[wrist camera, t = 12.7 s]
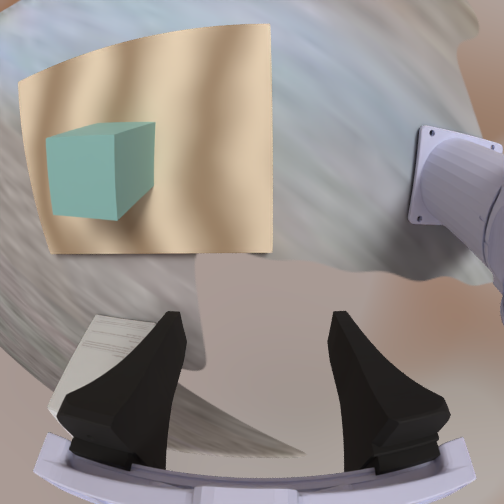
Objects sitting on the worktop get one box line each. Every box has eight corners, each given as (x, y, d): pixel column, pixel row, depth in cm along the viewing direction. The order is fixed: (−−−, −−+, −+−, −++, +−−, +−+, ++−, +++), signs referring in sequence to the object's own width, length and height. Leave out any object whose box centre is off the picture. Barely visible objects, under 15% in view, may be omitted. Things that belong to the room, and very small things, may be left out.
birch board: (269, 29, 15) (270, 23, 14) (271, 243, 23) (272, 252, 22) (29, 80, 16) (18, 82, 15) (58, 246, 24) (50, 254, 22)
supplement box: (111, 357, 31) (75, 443, 20) (95, 311, 28) (43, 406, 17) (167, 367, 31) (142, 463, 20) (158, 321, 28) (120, 432, 17)
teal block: (155, 121, 17) (114, 134, 12) (153, 185, 19) (117, 220, 14) (97, 123, 17) (45, 138, 12) (99, 182, 19) (53, 214, 14)
